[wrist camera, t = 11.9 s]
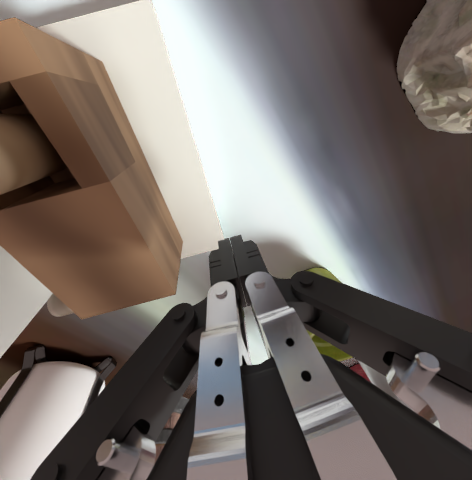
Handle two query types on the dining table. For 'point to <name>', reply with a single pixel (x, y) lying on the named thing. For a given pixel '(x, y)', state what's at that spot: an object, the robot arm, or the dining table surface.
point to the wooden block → (57, 307)
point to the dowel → (25, 152)
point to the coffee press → (43, 408)
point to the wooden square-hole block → (83, 183)
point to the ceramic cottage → (440, 65)
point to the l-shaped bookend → (147, 133)
